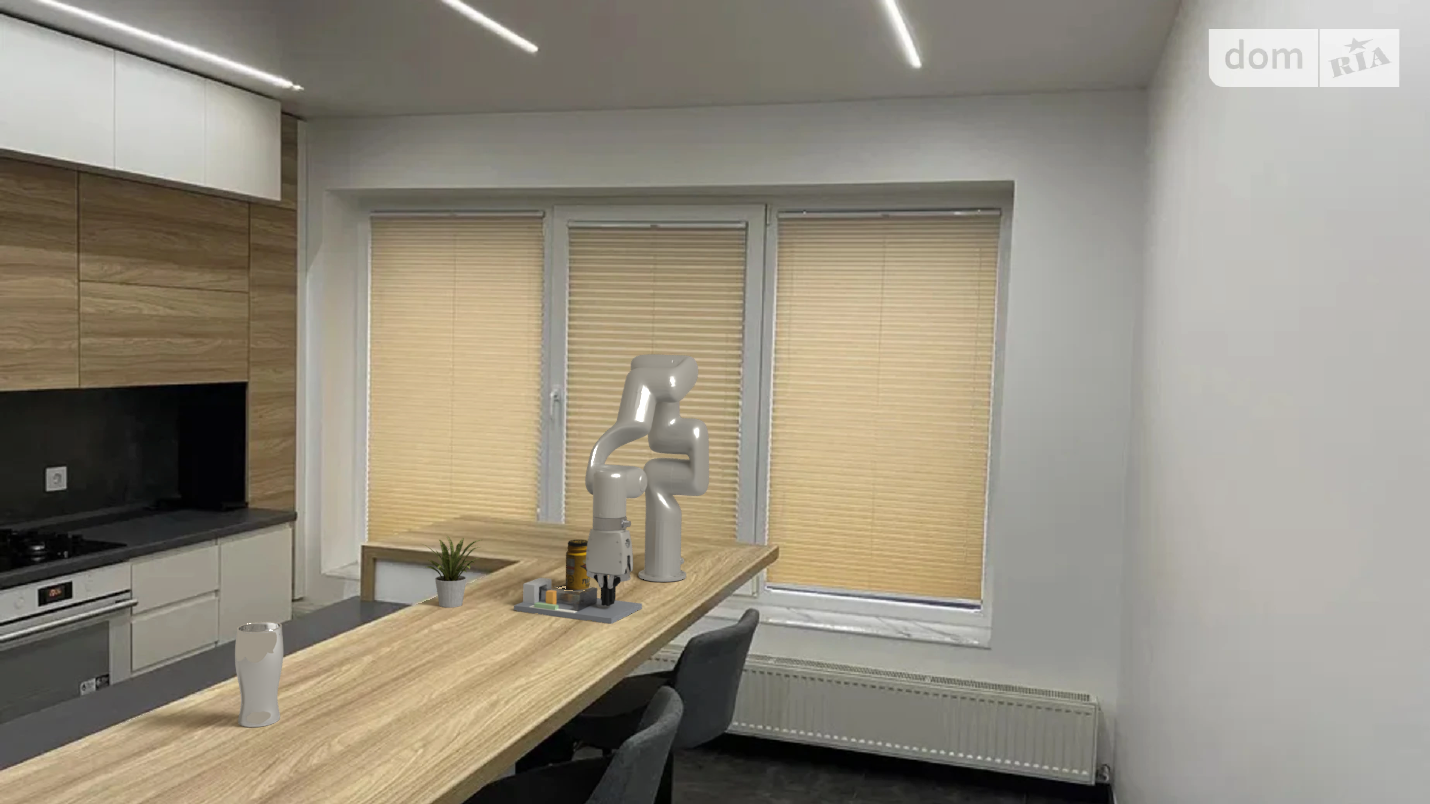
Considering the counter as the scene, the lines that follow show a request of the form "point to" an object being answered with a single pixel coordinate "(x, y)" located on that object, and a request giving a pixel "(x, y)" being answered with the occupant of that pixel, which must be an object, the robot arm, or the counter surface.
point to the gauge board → (572, 606)
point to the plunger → (572, 597)
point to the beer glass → (259, 672)
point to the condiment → (576, 566)
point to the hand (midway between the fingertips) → (607, 604)
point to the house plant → (451, 574)
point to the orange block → (551, 597)
